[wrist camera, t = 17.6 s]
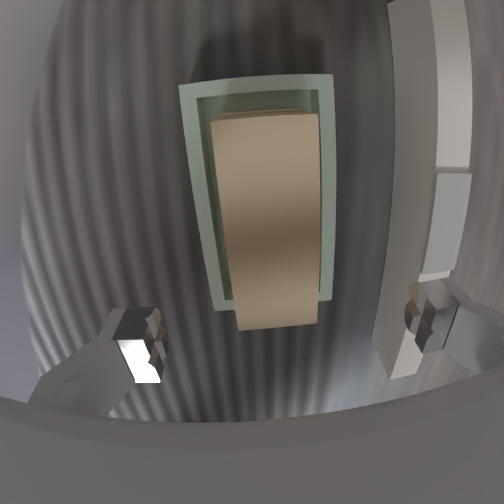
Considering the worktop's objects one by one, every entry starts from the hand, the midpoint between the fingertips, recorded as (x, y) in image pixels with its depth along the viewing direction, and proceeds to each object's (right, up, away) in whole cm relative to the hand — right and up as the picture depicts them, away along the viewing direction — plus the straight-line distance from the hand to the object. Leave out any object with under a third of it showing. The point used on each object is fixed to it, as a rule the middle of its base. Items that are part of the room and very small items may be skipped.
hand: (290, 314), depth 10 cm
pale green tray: (0, +6, +10) cm, 11 cm away
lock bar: (0, +5, +9) cm, 10 cm away
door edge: (+9, +6, +10) cm, 15 cm away
